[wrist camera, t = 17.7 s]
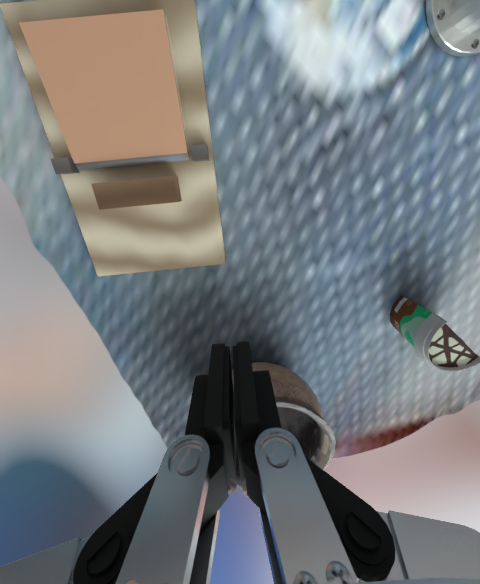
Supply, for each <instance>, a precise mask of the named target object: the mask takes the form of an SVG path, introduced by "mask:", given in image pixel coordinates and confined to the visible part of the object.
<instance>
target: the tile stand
mask: <svg viewBox="0 0 480 584" xmlns="http://www.w3.org/2000/svg"><path fill="white" fill-rule="evenodd" d="M0 7H1V10H2V13H3V16H4V18H5V21H6V24H7V27H8V29H9V32H10V35H11V38H12V40H13V43H14V46H15V49H16V52H17V54H18V57H19V60H20V63H21V65H22V68H23V71H24V74H25V76H26V79H27V82H28V85H29V87H30V90H31V93H32V96H33V99H34V101H35V104H36V107H37V110H38V112H39V115H40V118H41V121H42V123H43V126H44V129H45V132H46V135H47V137H48V140H49V143H50V146H51V148H52V151H53V154H54V157H55V159H51V161H52V164H53V167H54V169H55V172H56V174H61V176H62V179H63V182H64V184H65V187H66V190H67V193H68V195H69V198H70V201H71V204H72V206H73V209H74V212H75V215H76V217H77V220H78V223H79V226H80V229H81V231H82V234H83V237H84V240H85V242H86V245H87V248H88V251H89V253H90V256H91V259H92V262H93V265H94V267H95V270H96V273H97V276H107V275H118V274H128V273H138V272H148V271H158V270H168V269H178V268H189V267H199V266H209V265H219V264H226V259H225V251H224V242H223V234H222V225H221V217H220V208H219V200H218V191H217V183H216V174H215V166H214V157H213V149H212V140H211V132H210V123H209V115H208V106H207V98H206V89H205V81H204V72H203V64H202V55H201V46H200V38H199V29H198V21H197V12H196V4H195V0H36V1H25V2H14V3H3V4H0ZM161 9H163V10H164V13H165V15H166V18H167V24H168V30H169V36H170V42H171V48H172V54H173V60H174V66H175V72H176V78H177V84H178V90H179V96H180V102H181V107H182V113H183V119H184V125H185V131H186V137H187V143H188V149H189V156H190V160H185V161H175V162H164V163H154V164H144V165H133V166H123V167H112V168H102V169H91V170H81V171H80V170H78V169H77V167H76V165H75V164H74V161H73V159H72V156H71V154H70V151H69V149H68V146H67V144H66V141H65V139H64V136H63V134H62V131H61V128H60V126H59V123H58V121H57V118H56V116H55V113H54V111H53V108H52V106H51V103H50V100H49V98H48V95H47V93H46V90H45V88H44V85H43V83H42V80H41V78H40V75H39V72H38V70H37V67H36V65H35V62H34V60H33V57H32V55H31V52H30V50H29V47H28V45H27V42H26V39H25V37H24V34H23V32H22V29H21V27H20V24H19V23H20V22H31V21H42V20H53V19H63V18H74V17H85V16H96V15H107V14H118V13H129V12H140V11H150V10H161Z"/></svg>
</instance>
